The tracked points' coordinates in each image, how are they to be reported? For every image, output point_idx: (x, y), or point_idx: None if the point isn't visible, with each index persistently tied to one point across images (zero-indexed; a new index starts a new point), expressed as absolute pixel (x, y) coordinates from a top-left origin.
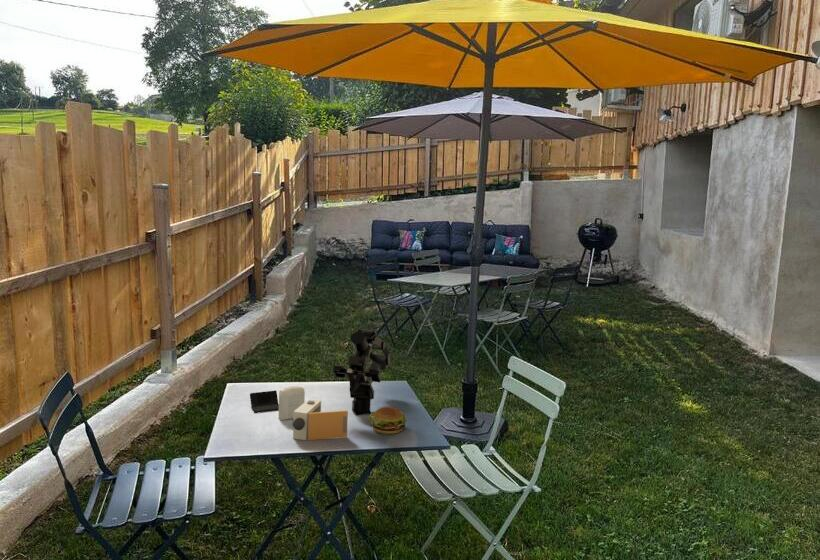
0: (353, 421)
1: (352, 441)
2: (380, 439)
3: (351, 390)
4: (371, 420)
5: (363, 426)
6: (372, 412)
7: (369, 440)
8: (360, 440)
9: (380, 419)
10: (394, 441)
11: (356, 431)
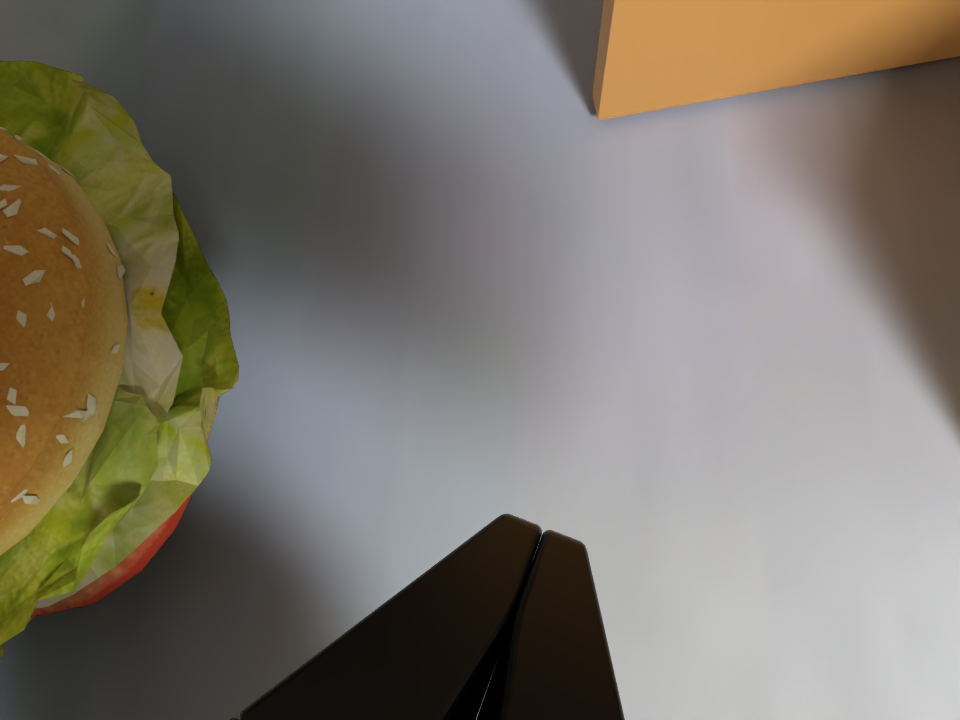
0: (485, 693)
1: (524, 7)
2: (184, 63)
3: (540, 566)
4: (198, 263)
5: (346, 478)
6: (116, 513)
7: (318, 35)
8: (426, 34)
9: (44, 157)
10: (35, 13)
11: (459, 300)
